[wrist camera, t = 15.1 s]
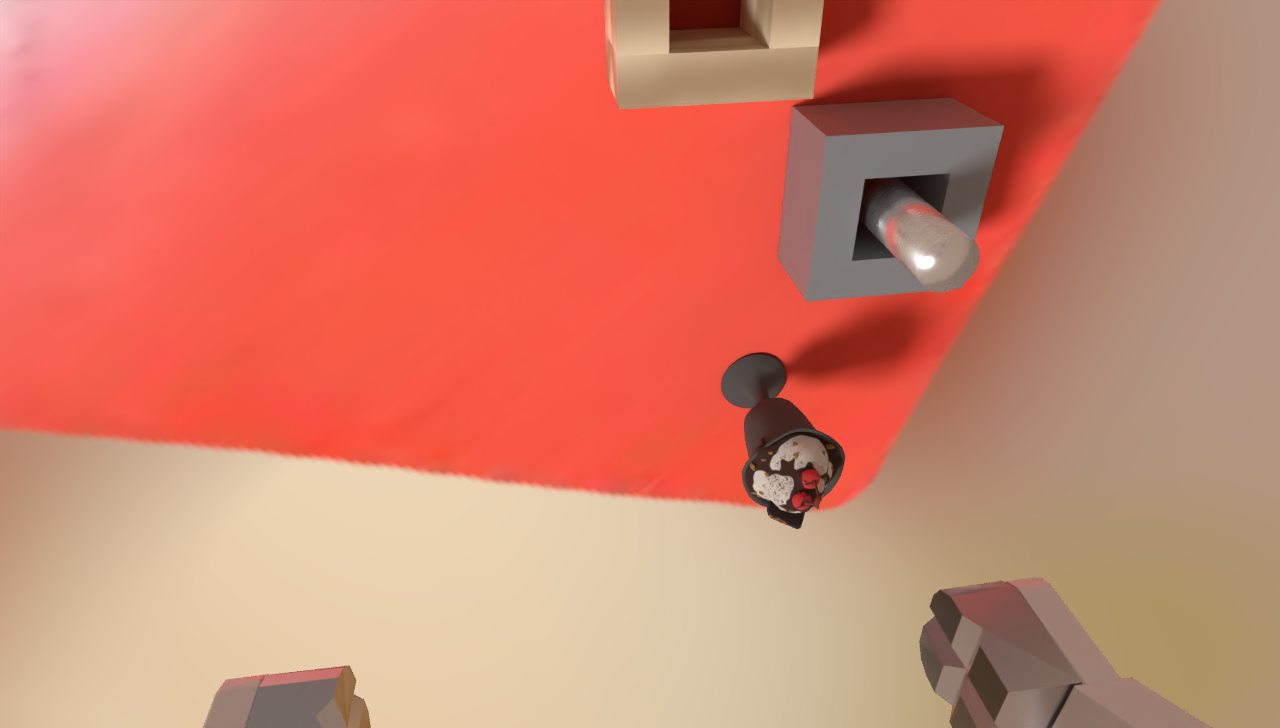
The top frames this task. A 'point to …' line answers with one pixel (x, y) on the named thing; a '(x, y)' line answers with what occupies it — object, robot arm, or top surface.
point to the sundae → (780, 443)
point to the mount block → (712, 54)
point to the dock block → (865, 149)
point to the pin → (918, 234)
